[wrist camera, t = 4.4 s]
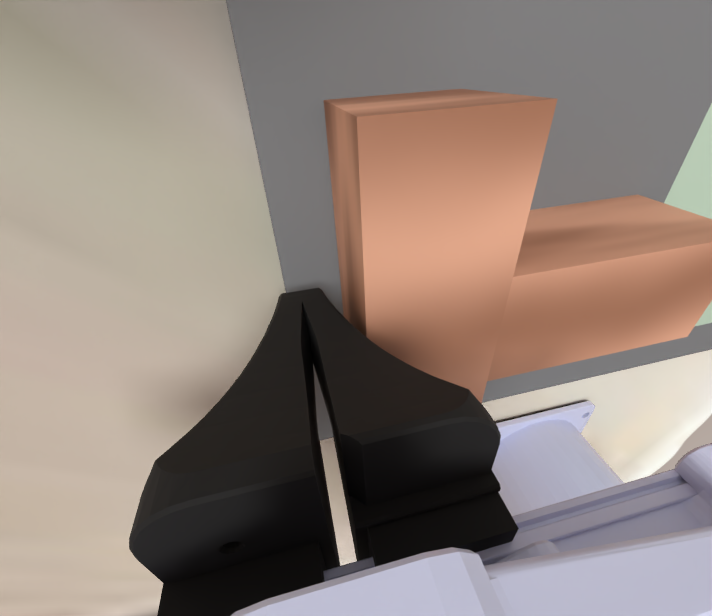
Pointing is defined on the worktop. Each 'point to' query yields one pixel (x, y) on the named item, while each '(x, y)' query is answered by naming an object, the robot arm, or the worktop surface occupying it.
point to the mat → (493, 74)
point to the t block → (496, 242)
